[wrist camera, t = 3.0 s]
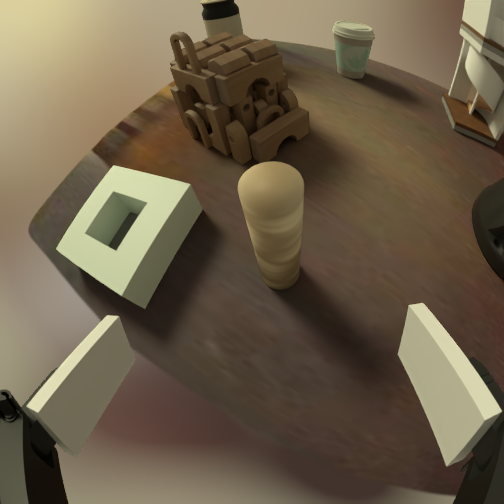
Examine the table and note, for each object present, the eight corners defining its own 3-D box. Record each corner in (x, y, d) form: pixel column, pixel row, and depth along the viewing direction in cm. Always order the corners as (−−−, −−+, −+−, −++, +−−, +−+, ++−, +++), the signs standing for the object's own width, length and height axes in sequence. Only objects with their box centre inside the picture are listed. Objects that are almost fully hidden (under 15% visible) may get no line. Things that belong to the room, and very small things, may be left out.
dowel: (297, 253, 29) (300, 159, 17) (300, 288, 27) (307, 210, 15) (260, 255, 30) (238, 164, 17) (261, 290, 28) (236, 214, 15)
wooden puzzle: (317, 128, 38) (318, 17, 21) (246, 178, 35) (215, 47, 18) (230, 86, 47) (211, 6, 30) (168, 122, 44) (133, 37, 27)
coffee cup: (333, 79, 44) (335, 28, 34) (329, 63, 48) (329, 18, 37) (374, 84, 43) (380, 34, 32) (365, 67, 46) (369, 23, 36)
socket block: (202, 209, 33) (190, 184, 29) (145, 309, 29) (121, 295, 24) (128, 186, 38) (113, 165, 33) (78, 264, 33) (56, 249, 28)
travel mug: (253, 55, 53) (242, -7, 37) (237, 68, 50) (223, 0, 34) (225, 54, 55) (212, -4, 39) (208, 67, 53) (191, 4, 37)
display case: (441, 99, 40) (468, -35, 9) (479, 115, 37) (514, -8, 6) (452, 129, 36) (494, -30, 4) (493, 147, 33) (545, 7, 2)
